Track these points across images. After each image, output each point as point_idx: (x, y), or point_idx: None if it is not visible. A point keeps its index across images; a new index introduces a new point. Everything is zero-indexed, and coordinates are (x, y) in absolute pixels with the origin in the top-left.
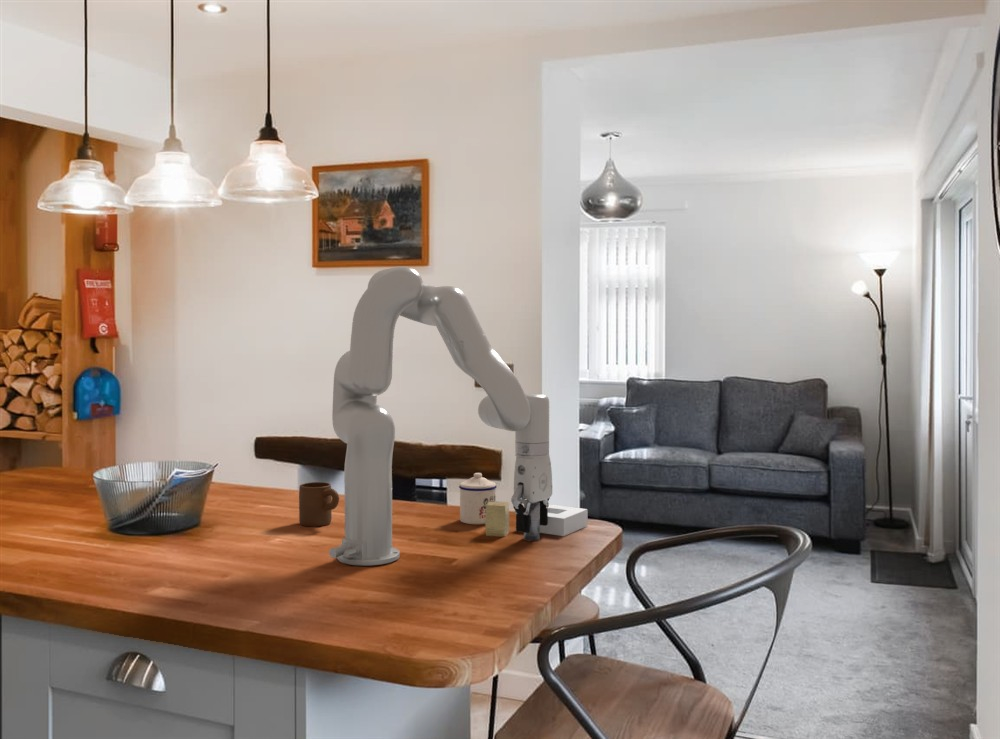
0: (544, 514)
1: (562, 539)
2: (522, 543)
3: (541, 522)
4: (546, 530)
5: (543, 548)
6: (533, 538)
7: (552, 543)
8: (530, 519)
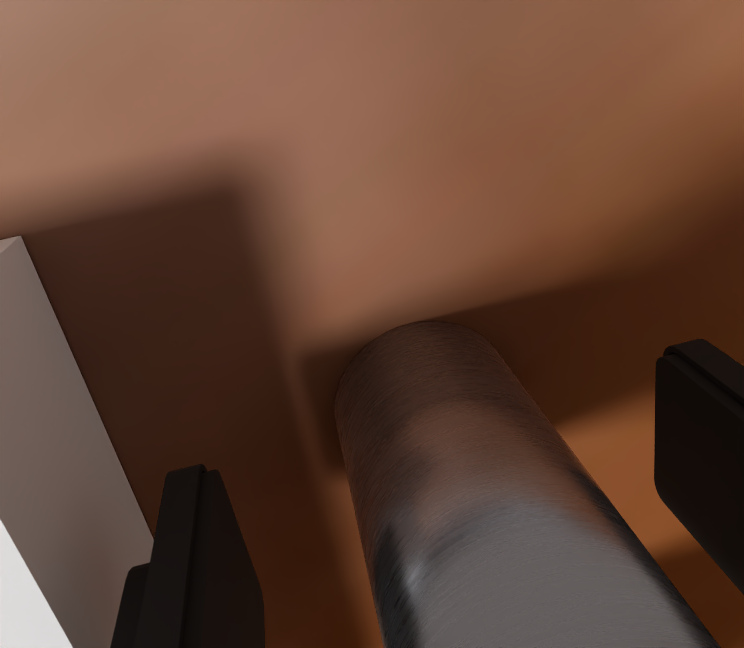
0: (215, 601)
1: (170, 134)
2: (637, 335)
3: (236, 537)
4: (111, 480)
5: (710, 6)
6: (489, 346)
7: (436, 90)
8: (621, 516)
